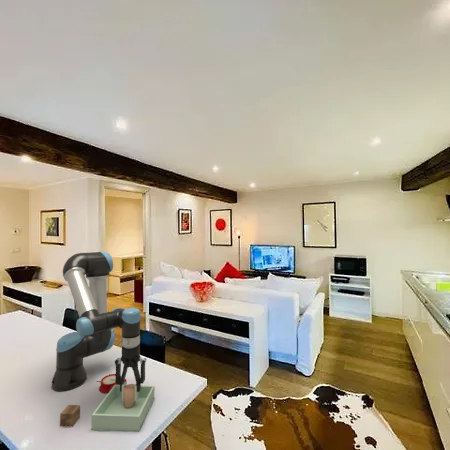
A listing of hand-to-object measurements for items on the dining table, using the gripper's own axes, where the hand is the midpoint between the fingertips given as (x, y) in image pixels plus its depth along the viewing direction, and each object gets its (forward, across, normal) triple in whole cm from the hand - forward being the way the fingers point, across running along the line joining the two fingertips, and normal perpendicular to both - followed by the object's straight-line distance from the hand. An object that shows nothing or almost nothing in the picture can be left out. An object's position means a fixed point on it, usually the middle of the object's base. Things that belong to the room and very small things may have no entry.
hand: (130, 398), depth 114 cm
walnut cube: (+3, -20, -10) cm, 23 cm away
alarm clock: (+3, -13, +12) cm, 18 cm away
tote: (+3, 0, -4) cm, 5 cm away
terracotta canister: (+2, 0, 0) cm, 2 cm away
